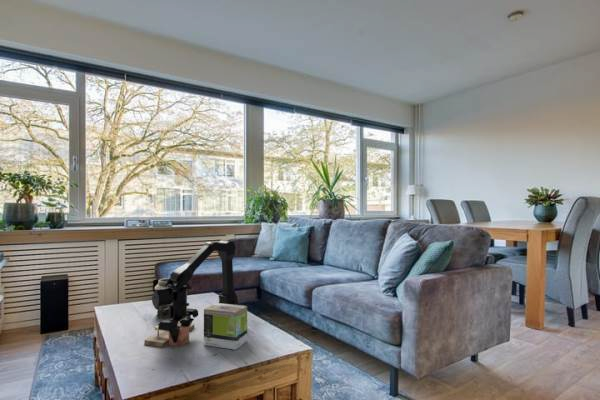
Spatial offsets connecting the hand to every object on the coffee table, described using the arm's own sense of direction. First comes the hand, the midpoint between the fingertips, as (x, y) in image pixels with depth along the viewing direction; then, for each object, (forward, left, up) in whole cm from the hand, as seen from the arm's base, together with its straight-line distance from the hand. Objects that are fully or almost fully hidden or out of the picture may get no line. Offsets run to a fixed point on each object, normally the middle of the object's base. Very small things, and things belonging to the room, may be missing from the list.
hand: (179, 339), depth 137 cm
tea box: (-18, -6, -2) cm, 19 cm away
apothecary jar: (+27, -27, -1) cm, 38 cm away
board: (+8, -5, -1) cm, 9 cm away
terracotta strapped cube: (+4, 0, -1) cm, 4 cm away
